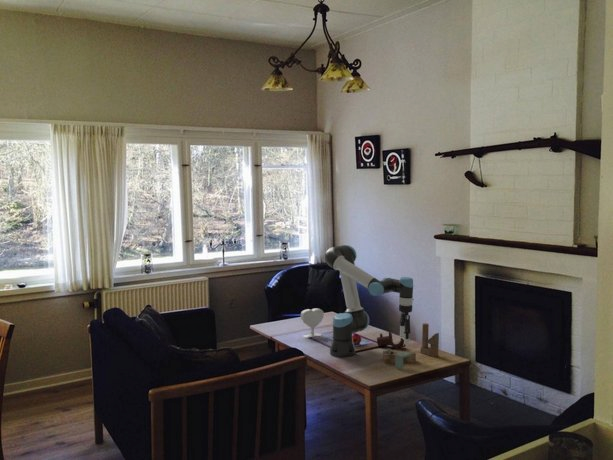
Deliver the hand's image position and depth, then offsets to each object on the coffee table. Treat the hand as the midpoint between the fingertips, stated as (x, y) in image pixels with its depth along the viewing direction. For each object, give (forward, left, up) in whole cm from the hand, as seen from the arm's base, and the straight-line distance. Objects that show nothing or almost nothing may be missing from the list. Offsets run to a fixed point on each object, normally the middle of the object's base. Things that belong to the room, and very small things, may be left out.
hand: (404, 340), depth 311 cm
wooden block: (+17, +12, -12) cm, 24 cm away
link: (-3, 0, -12) cm, 12 cm away
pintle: (-9, 0, -12) cm, 15 cm away
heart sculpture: (-53, +51, -12) cm, 74 cm away
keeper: (-2, -10, -12) cm, 16 cm away
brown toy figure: (-3, +26, -12) cm, 29 cm away
